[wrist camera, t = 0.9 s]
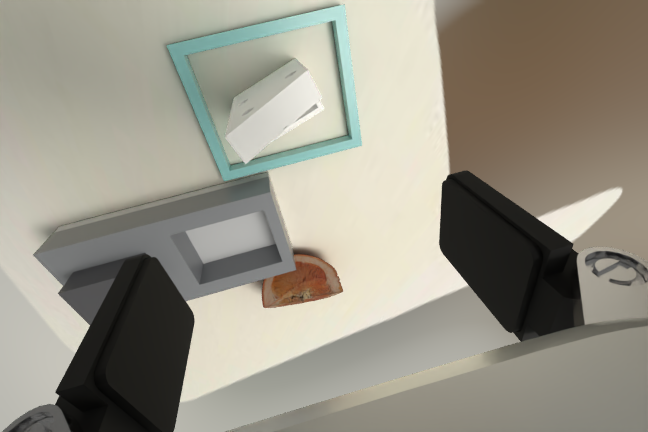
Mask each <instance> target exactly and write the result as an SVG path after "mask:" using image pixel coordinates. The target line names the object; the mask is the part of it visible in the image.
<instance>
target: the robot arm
mask: <svg viewBox="0 0 648 432" xmlns="http://www.w3.org/2000/svg"><path fill="white" fill-rule="evenodd" d="M439 245H440V249H441V251H442V253H443V254H444V256H445V257H446V258H447V259H448V260H449V262H450V263H451V264H452V265H453V266H454V268H455V269H456V270H457V271H458V273H459V274H460V275H461V276H462V277H463V279H464V280H465V281H466V282H467V284H468V285H469V286H470V287H471V288H472V289H473V291H474V292H475V293H476V294H477V296H478V297H479V298H480V299H481V300H482V302H483V303H484V304H485V305H486V307H487V308H488V309H489V310H490V311H491V313H492V314H493V315H494V316H495V318H496V319H497V320H498V321H499V322H500V324H501V325H502V326H503V327H504V328H505V329H506V330H507V331H508V332H510V333H512V332H513V333H514V334H515V335H516V336H517V337H518V339H519V340H520V341H521V342H519V343H515V344H512V345H508V346H504V347H501V348H498V349H495V350H491V351H488V352H484V353H481V354H478V355H474V356H471V357H468V358H464V359H461V360H458V361H454V362H451V363H448V364H444V365H441V366H438V367H434V368H431V369H428V370H424V371H421V372H418V373H414V374H411V375H408V376H404V377H401V378H398V379H395V380H391V381H388V382H385V383H382V384H378V385H375V386H372V387H369V388H365V389H362V390H359V391H355V392H352V393H349V394H345V395H342V396H339V397H336V398H332V399H329V400H326V401H323V402H319V403H316V404H313V405H309V406H306V407H303V408H300V409H296V410H293V411H290V412H287V413H284V414H280V415H277V416H274V417H271V418H267V419H264V420H261V421H258V422H255V423H251V424H248V425H245V426H242V427H238V428H235V429H232V430H229V431H226V432H648V262H647V261H646V260H644V259H642V258H640V257H638V256H637V255H635V254H632V253H629V252H626V251H624V250H620V249H615V248H610V247H592V248H588V249H585V250H582V251H581V252H580V253H579V254H578V253H577V252H575V251H574V250H573V249H572V247H573V243H571V242H570V241H568V240H567V239H565V238H564V237H563V236H561V235H560V234H558V233H557V232H555V231H554V230H552V229H551V228H550V227H548V226H547V225H545V224H544V223H542V222H541V221H540V220H538V219H537V218H535V217H534V216H532V215H531V214H529V213H528V212H527V211H525V210H524V209H522V208H521V207H519V206H518V205H516V204H515V203H514V202H512V201H511V200H509V199H508V198H506V197H505V196H503V195H502V194H501V193H499V192H498V191H496V190H495V189H493V188H492V187H490V186H489V185H488V184H486V183H485V182H483V181H482V180H481V179H479V178H478V177H476V176H475V175H473V174H472V173H470V172H469V171H462V172H458V173H454V174H450V175H448V176H447V179H446V180H445V181H443V183H442V198H441V219H440V239H439ZM193 327H194V315H193V312H192V310H191V309H190V307H189V306H188V304H187V303H186V301H185V300H184V298H183V297H182V295H181V294H180V292H179V291H178V289H177V287H176V286H175V284H174V283H173V281H172V280H171V278H170V277H169V275H168V274H167V272H166V271H165V269H164V268H163V266H162V265H161V263H160V262H159V260H158V259H157V258H156V257H151V256H149V255H148V254H144V255H140V256H137V257H133V258H129V259H126V260H125V261H124V263H123V265H122V266H121V268H120V270H119V272H118V274H117V276H116V278H115V280H114V282H113V283H112V285H111V287H110V289H109V291H108V293H107V295H106V297H105V299H104V301H103V302H102V304H101V306H100V308H99V310H98V312H97V314H96V316H95V318H94V320H93V321H92V323H91V325H90V327H89V329H88V331H87V333H86V335H85V337H84V339H83V340H82V342H81V344H80V346H79V348H78V350H77V352H76V354H75V356H74V358H73V360H72V361H71V363H70V365H69V367H68V369H67V371H66V373H65V375H64V377H63V379H62V380H61V382H60V384H59V386H58V388H57V390H56V393H57V394H58V395H59V398H58V400H57V402H56V404H55V405H52V404H47V405H43V406H39V407H37V408H34V409H32V410H30V411H28V412H27V413H25V414H24V415H22V416H21V417H19V418H18V419H16V420H15V421H14V422H12V423H11V424H10V425H9V426H8V427H7V428H6V429H4V430H3V432H173V431H174V428H175V423H176V418H177V413H178V407H179V402H180V397H181V391H182V386H183V381H184V375H185V370H186V365H187V359H188V354H189V349H190V343H191V338H192V333H193Z"/></svg>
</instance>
